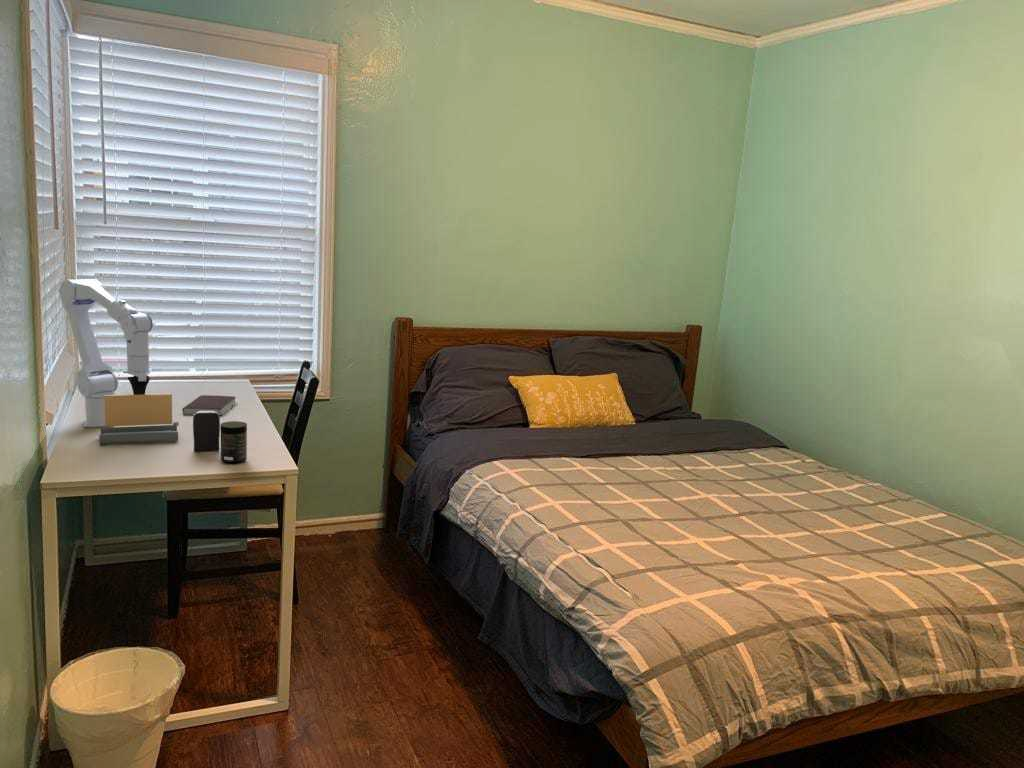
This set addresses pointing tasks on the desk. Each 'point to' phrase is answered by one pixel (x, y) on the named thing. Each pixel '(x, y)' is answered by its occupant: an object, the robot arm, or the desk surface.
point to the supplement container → (233, 442)
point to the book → (210, 404)
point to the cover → (138, 409)
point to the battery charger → (206, 431)
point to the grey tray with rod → (138, 434)
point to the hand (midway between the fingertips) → (139, 400)
